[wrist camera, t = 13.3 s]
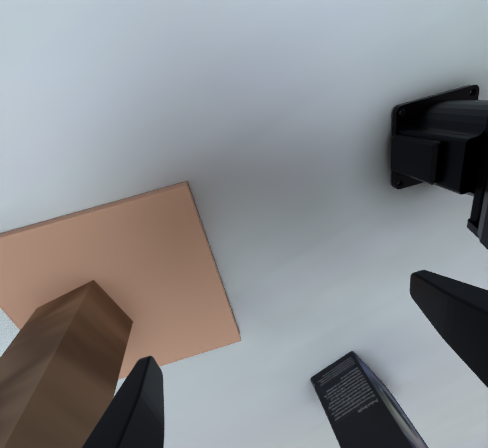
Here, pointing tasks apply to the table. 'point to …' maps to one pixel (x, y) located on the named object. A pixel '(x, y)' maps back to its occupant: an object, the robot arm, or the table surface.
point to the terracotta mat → (127, 272)
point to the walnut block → (62, 370)
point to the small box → (363, 407)
